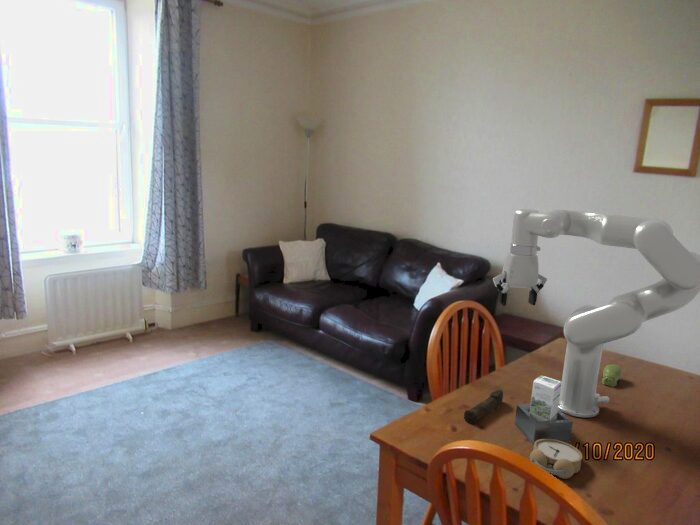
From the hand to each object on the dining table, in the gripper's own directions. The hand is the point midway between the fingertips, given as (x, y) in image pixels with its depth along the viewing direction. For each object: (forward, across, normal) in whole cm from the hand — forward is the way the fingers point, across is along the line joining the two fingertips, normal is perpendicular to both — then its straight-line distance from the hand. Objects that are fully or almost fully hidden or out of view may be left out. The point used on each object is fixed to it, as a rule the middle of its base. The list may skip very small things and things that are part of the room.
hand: (517, 304), depth 161 cm
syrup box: (+28, +3, +27) cm, 38 cm away
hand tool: (+29, +14, +14) cm, 35 cm away
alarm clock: (+29, +7, +40) cm, 50 cm away
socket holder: (+28, +3, +26) cm, 39 cm away
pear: (+29, -38, -2) cm, 48 cm away
